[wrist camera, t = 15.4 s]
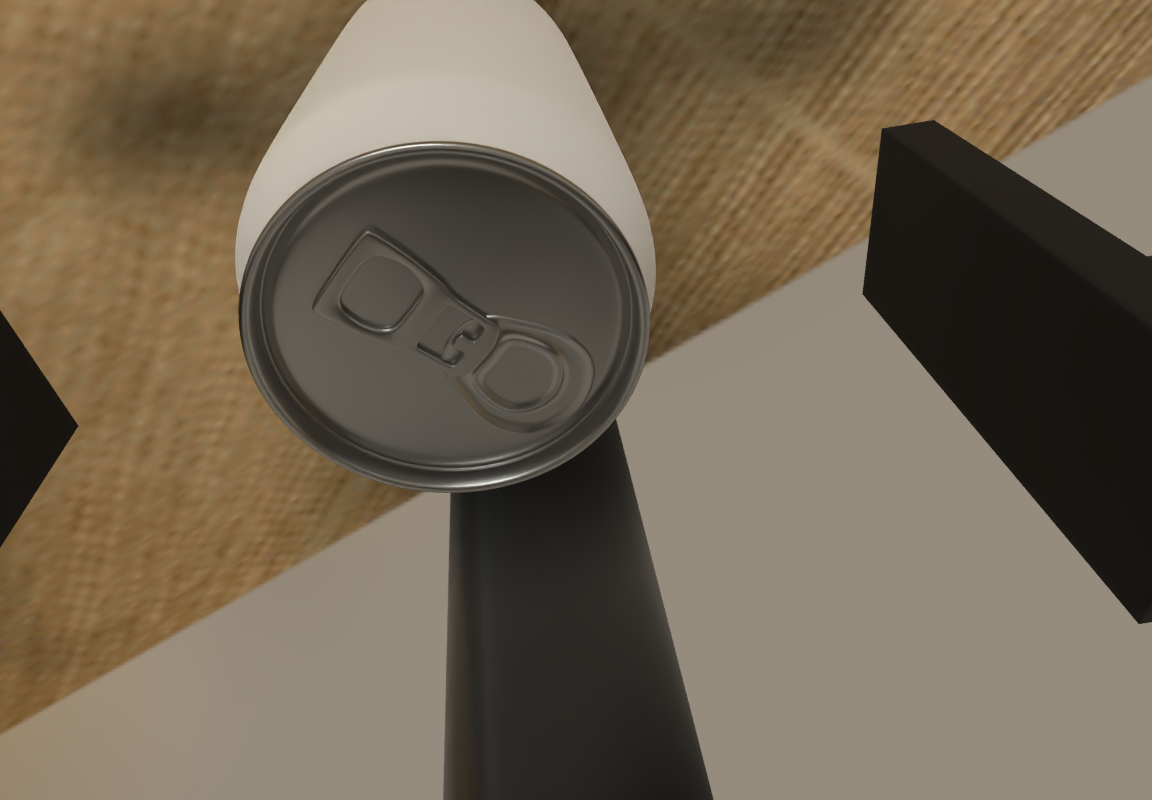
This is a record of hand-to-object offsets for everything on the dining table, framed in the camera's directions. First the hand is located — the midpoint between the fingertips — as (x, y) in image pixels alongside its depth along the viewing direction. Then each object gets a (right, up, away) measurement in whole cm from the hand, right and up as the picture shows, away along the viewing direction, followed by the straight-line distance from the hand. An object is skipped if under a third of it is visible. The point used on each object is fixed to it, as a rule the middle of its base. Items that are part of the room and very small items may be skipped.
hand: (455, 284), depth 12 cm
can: (-1, +6, +9) cm, 11 cm away
